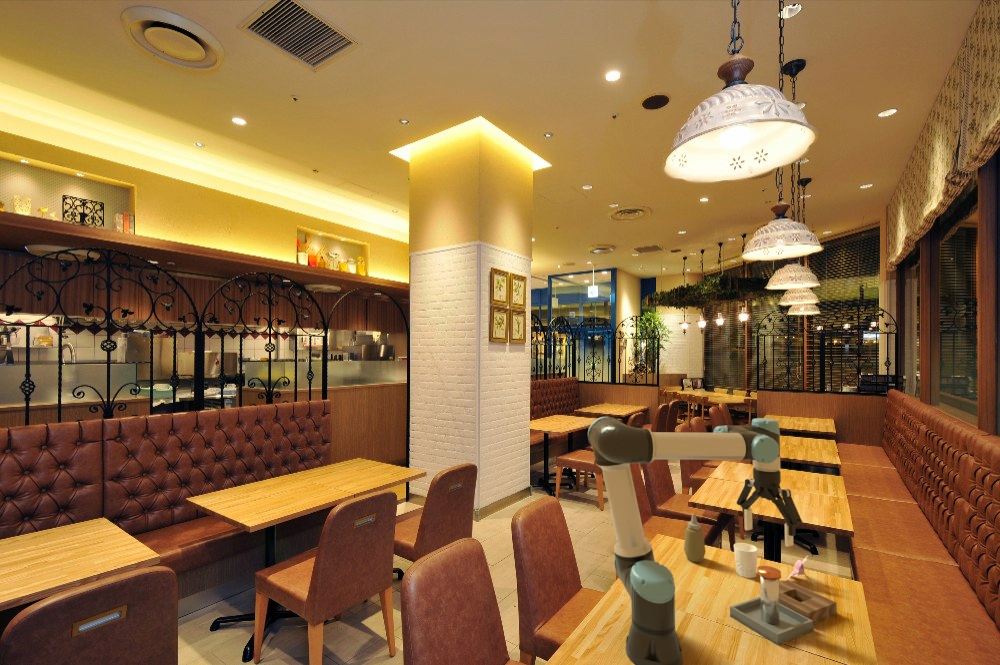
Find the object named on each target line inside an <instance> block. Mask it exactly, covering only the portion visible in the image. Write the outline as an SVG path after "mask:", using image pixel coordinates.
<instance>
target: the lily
mask: <svg viewBox="0 0 1000 665" xmlns="http://www.w3.org/2000/svg"><path fill="white" fill-rule="evenodd" d="M808 557H809V555H806V557H805V558H803V559H802V561H801V559H798V560H797V561H796V562H795V564H794V565H792V567H793V569H794V570H792V572H791V573H790V574H789V576H787V578H786V580H789V579H790V578H791V577H792V576H795V577H798V576H799V575H804V576H805V577H806V578H807V579H808V581H809V582H810V584H811V585H812V586H813V585H814V584H813V583H812V581H811V579H810V577H809V576H807V575H806V572H805V568H804V567H805V566H804V564H805V562H806V561H807V558H808Z"/></svg>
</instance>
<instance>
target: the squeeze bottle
mask: <svg viewBox="0 0 1000 665" xmlns="http://www.w3.org/2000/svg"><path fill="white" fill-rule="evenodd" d="M696 516H697V514H696V513H692V514H691V519H690V521H688V522H687V527H686V528H685V533H684V543H683V545H684V546H683V550H684V554H685V556H686V558H687V560H688V561H690V562H692V563H702V562H703V560H704V557H705V554H706V546H705V538H704V537H705V536H704V530H703V529H702V528H701V523H699V522H698V520H697V517H696Z"/></svg>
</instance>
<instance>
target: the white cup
mask: <svg viewBox="0 0 1000 665" xmlns="http://www.w3.org/2000/svg"><path fill="white" fill-rule="evenodd" d="M733 552H734V553H733V554H734V564H735V573H736V574H737V575H738V576H741V577H743V578H746V579H754V578H756V577H757V568H758V548H757V546H755V545H753V544H750V543H745V542H736V543H734V544H733Z"/></svg>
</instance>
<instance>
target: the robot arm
mask: <svg viewBox="0 0 1000 665" xmlns="http://www.w3.org/2000/svg"><path fill="white" fill-rule="evenodd" d="M780 430H781V429H780V423H779V421H778V420H776V419H773V418H765V417H757V418H752V420H751V424H750V425H727V424H726V425H718V426H716V427H714V429H713V432H664V431H663V432H659V431H658V432H656V431H655V432H653V431H651V429H649V428H640V427H634V426H629V425H627V424H625V423H623V422H622V421H621V420H620V419H618V418H615V417H612V416H601V417H598V418H596V419H594V420H593V422H592V423H591V424H590V425H589V427H588V431H587V440H588V443H589V445H590V446H591V447H592V451H593V457H594V461H595V465H596V466H598V468H600V469H601V472H602V476H603V482H604V485H605V489H606V494H607V500H608V505H609V510H610V514H611V519H612V523H613V528H614V533H615V538H616V543H615V545H614V547H613V552H614V560H613V562H614V569H615V573H616V575H617V577H618V578H619V580H620V581H621V583H622V585H623V587H624V589H625V590H626V593H627V594H628V595H629V597H630V602H631V624H630V626H629V627H630V628H629V631H628V635H627V636H626V639H625V653H626V655H627V658H628V659H629V661H632V663H633V664H634V665H682V664H683V648H682V645H681V642H680V639H679V636H678V634H677V630H676V608H675V607H676V602H675V601H676V600H675V599H676V596H675V593H676V586H675V585H676V584H675V580H674V579H675V578H674V576H673V575H674V574H673V573H672V571H671V570H670V569H669V568H668V567H667V566H665V565H664V564H660V563H659V562H657V561H656V560H655V556H654V550H653V547H652V543H651V542H650V541H649V540H647V539H646V537H645V533H644V529H643V524H642V519H641V513H640V509H639V504H638V500H637V494H636V490H635V485H634V480H633V475H632V474H633V473H632V471H631V465H630V464H651V463H652V462H653V461H655V460H676V461H677V460H678V461H679V460H702V461H703V460H704V461H705V460H710V461H711V460H712V461H713V460H715V461H716V460H717V461H718V460H720V461H721V460H723V461H724V460H725V461H727V460H729V461H730V460H731V461H734V460H735V461H737V460H738V461H739V460H741V461H742V460H743V461H752V467H753V468H752V478H746V479H745V480H744V486H743V487H742V490H741V492H740V494H739V496H738V498H737V501H736V504H737V506H740V507H741V510H742V519H744V522H743V523H744V531H751V530H753V508H751V506H753V504H754V503H755V502H756V501H757V500H758V499H759V498H761V499H766V500H767V501H771V502H772V504H774V505H775V506H776V508H777V510H778V512H780V515H781V517H782V518H783V519H784V520H785V522H786V523H784V547H787V548H788V547H792V546H794V536H796V526H797V525H802V524H803V520H802V518H801V515H800V514H799V511H798V509H797V507H796V504H795V502H794V500H793V498H792V491H791V489H789V488H786V489H785V488H781V486H780V485H781V483H782V477H781V474H782V473H781V448H780V447H781V440H780V438H781V437H780V436H781V432H780ZM753 487H754V489H755V490H754V491H753V492H752V493H751V491H752V489H753ZM750 494H751V495H750Z"/></svg>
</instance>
